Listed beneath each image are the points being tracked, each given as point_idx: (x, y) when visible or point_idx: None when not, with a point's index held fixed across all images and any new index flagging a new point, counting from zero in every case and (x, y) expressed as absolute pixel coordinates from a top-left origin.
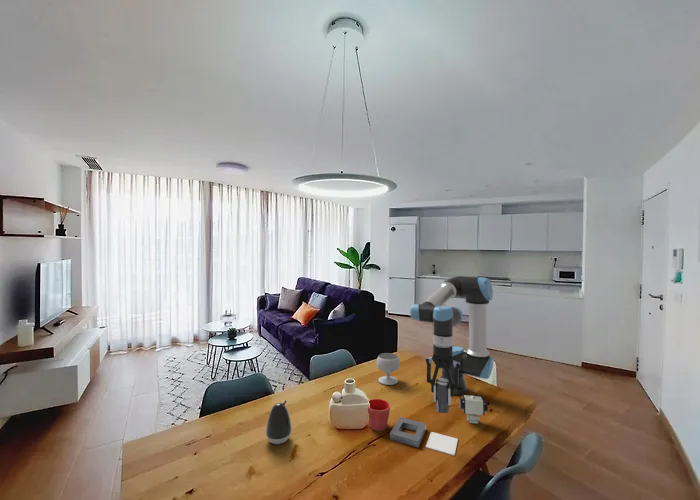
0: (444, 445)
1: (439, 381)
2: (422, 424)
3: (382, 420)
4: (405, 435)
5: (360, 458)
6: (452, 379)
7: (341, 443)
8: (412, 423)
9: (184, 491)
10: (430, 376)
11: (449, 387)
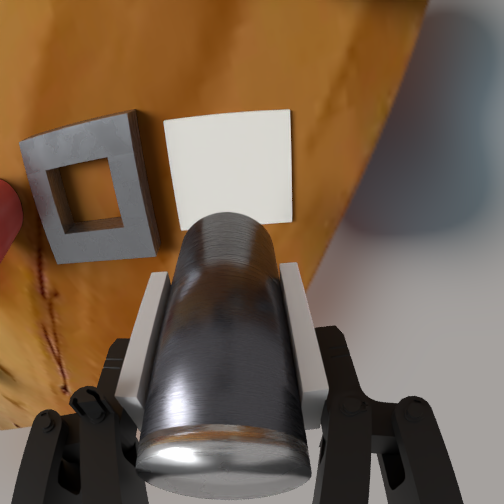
0: (244, 186)
1: (199, 492)
2: (115, 132)
3: (6, 251)
4: (99, 247)
5: (73, 344)
6: (366, 484)
7: (11, 320)
8: (77, 152)
9: (14, 426)
10: (57, 469)
11: (309, 413)
